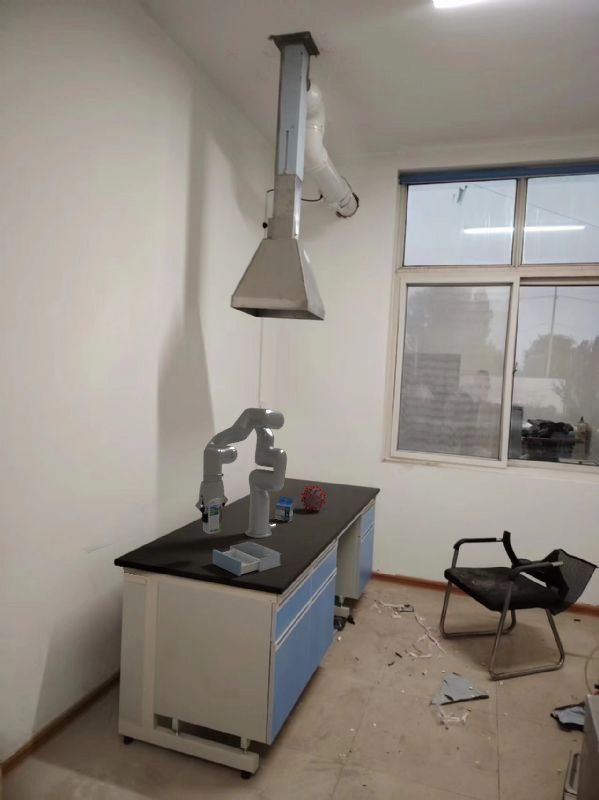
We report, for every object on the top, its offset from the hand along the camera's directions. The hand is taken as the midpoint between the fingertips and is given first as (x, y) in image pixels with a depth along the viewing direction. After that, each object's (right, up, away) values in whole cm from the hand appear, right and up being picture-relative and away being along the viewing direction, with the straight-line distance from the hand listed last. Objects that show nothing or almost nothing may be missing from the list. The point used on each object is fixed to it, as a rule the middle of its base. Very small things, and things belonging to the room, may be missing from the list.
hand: (211, 520), depth 211 cm
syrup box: (0, -5, 0) cm, 5 cm away
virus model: (+44, -15, +86) cm, 98 cm away
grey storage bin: (+18, -16, -2) cm, 24 cm away
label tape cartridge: (+28, -15, +63) cm, 70 cm away
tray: (+12, -16, -8) cm, 22 cm away
